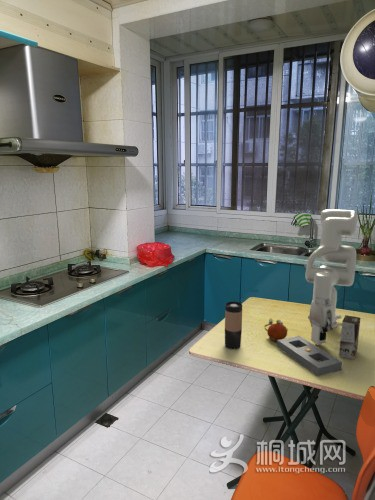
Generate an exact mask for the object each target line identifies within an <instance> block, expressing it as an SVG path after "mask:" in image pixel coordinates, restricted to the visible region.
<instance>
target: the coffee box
mask: <svg viewBox="0 0 375 500" xmlns="http://www.w3.org/2000/svg"><path fill="white" fill-rule="evenodd" d="M360 327H361V317H359V316H353V315H347V314H345V315H344V318H343V320H342V324H341V331H340V341H339V351H338V356H339V357H342V358H346V359H350V360H353V359H354V360H355V359H356V358H355V357H356V354H357V353H356V352H358V344H359V336H360Z"/></svg>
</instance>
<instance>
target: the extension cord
mask: <svg viewBox="0 0 375 500" xmlns="http://www.w3.org/2000/svg"><path fill="white" fill-rule="evenodd" d="M276 323H279V324H281V325H283V326H284V327H285V328H286V330H287V331H288V328H287V326H285V325H284V324H283V323H284V322H283V321H281V319H277V320H276ZM272 324H273V319H272V318H271V317H270V318H269V322H268V324H265V325H264V330H265V331H266V332H267V331H268V328H266V327H267V326H271V325H272Z"/></svg>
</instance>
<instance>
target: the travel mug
mask: <svg viewBox="0 0 375 500" xmlns="http://www.w3.org/2000/svg"><path fill="white" fill-rule="evenodd" d="M224 307H225V309H224V311H225V313H224V315H225V316H224V346H225V348H226V349H229V350H239V349H240V348H241V347H242V346H241V343H242V334H243V333H242V330H243V329H242V328H243V304H242V303H241V302H238V301H228V302H226V303H225V306H224Z"/></svg>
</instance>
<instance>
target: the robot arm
mask: <svg viewBox="0 0 375 500" xmlns="http://www.w3.org/2000/svg"><path fill="white" fill-rule="evenodd" d="M358 220H359V215H358V212H357V211H356V210H353V209H336V208H335V209H333V208H332V209H329V208H327V209H324V210H322V211H321V212H320V224H321V227H322V229H321V236H320V241H319V242H320V243H319V246H318V248H316V249H314V251H313V252H312V253H311V254H310V255H309V257H308V259H307V262H306V267H305V280H306V282H308V283H310V284H313V291H312V300H311V303H310V306H309V307H310V308H309V314H308V316H307V318H308V321H309V322H310V327H311V328H312V323H311V320H313V321H315V322H317V323H319V324H321V326H322V327H321V332H320V341H322V340H325V339H327V333H328V332H329V331H333V329H335V328H338V322H337V320H340V319H342V315H340V314H337V315H336V312H337V311H336V309H337V300H338V298H337V297H338V291H337V289H336V288H335V286H345V287H351V286H352V285H353V284H354V281H355V274H356V264H357V250H356V248H355V246H352V245H344V244H342V242H343V241H342V240H343V236H347V237H348V236H354V234H355V233H356V230H357V227H358V226H357V224H358ZM320 258H322V260H323V261H324V262H325V263H329V264H322V265H320V266H319V267H317V266H314V264H315V262H316V260H318V259H320ZM331 263H332V264H337V265H332V264H331ZM338 264H340V266H339V265H338ZM341 265H344V266H341ZM324 327H325V329H324Z"/></svg>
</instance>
